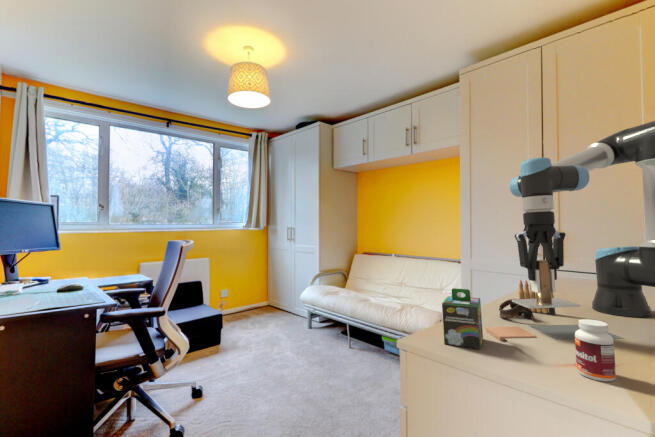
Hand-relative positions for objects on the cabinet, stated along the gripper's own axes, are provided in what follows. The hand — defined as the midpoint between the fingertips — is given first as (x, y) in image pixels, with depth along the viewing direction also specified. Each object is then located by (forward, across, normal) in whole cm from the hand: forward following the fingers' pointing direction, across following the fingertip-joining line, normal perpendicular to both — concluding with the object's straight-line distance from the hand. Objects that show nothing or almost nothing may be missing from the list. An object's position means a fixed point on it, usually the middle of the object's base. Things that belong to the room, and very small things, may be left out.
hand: (543, 291), depth 87 cm
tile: (+12, -6, 0) cm, 13 cm away
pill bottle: (+12, -6, -24) cm, 28 cm away
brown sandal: (+13, 0, +14) cm, 19 cm away
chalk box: (+12, -26, -4) cm, 29 cm away
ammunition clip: (+13, +10, +20) cm, 26 cm away
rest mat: (+13, +8, 0) cm, 15 cm away
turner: (+4, 0, 0) cm, 4 cm away
